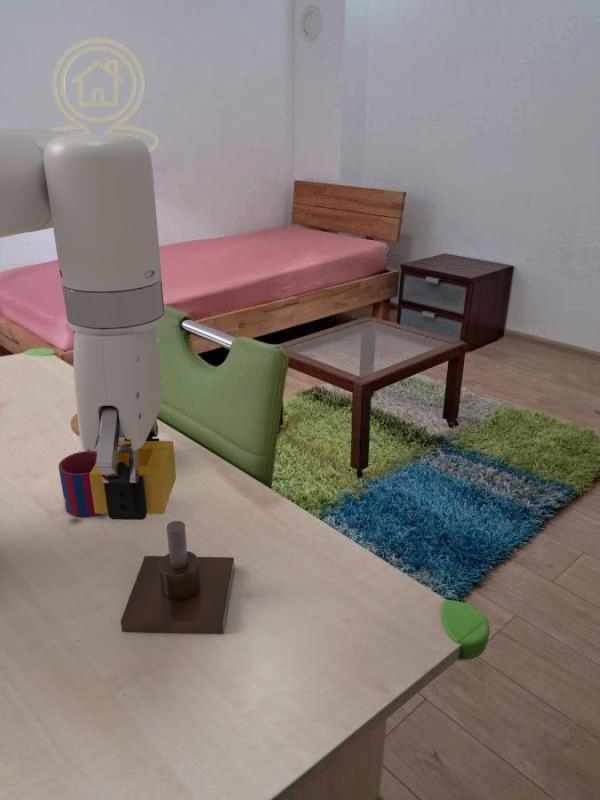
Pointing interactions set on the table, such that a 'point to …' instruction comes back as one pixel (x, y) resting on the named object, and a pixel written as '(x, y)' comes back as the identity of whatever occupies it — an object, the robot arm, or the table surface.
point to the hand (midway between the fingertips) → (137, 494)
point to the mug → (78, 483)
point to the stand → (179, 590)
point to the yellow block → (144, 476)
